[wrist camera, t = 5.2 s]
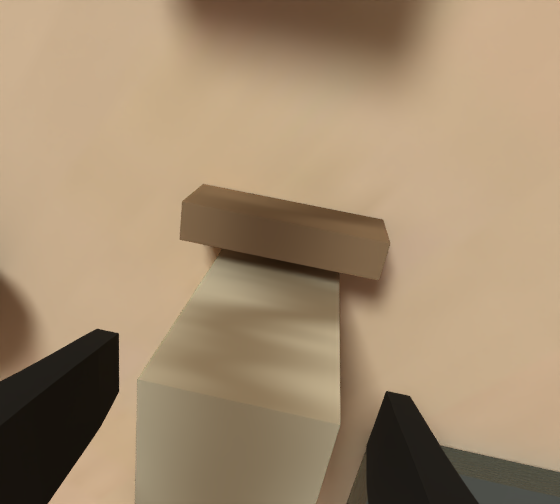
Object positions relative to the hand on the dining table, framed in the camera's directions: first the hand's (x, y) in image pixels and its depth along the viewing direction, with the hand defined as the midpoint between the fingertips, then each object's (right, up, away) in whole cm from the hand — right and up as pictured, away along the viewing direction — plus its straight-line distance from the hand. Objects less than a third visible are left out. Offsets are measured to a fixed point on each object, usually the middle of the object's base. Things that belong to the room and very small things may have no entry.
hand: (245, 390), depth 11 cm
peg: (+1, +2, +4) cm, 5 cm away
